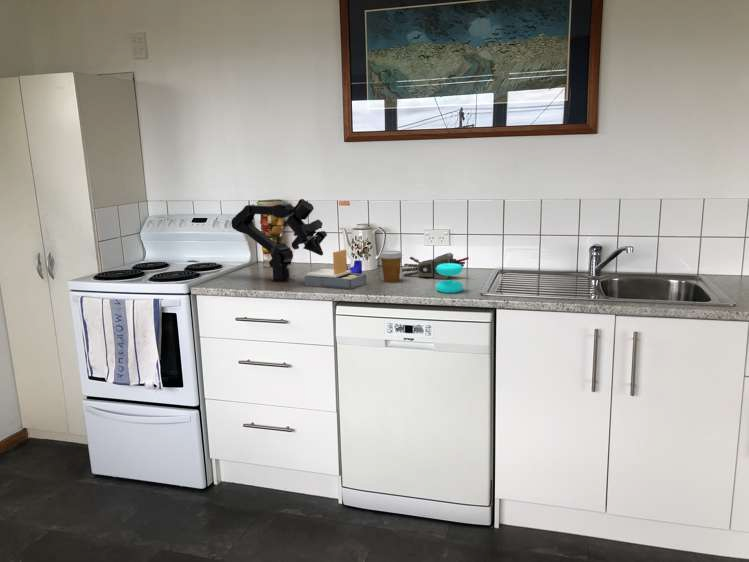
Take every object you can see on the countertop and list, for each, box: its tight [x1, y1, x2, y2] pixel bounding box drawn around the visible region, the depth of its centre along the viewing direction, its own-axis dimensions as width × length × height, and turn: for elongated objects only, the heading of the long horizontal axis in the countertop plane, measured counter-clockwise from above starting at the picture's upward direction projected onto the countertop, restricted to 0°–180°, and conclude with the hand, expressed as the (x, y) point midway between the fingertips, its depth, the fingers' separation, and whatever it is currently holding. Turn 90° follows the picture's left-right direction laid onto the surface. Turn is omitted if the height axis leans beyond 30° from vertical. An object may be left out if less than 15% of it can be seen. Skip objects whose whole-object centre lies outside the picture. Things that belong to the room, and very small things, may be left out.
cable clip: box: [347, 259, 363, 274], centre depth 262 cm, size 12×4×6 cm, turn 145°
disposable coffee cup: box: [379, 250, 403, 283], centre depth 246 cm, size 10×10×12 cm
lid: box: [306, 249, 351, 278], centre depth 242 cm, size 14×12×10 cm
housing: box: [304, 273, 367, 291], centre depth 242 cm, size 22×12×4 cm, turn 61°
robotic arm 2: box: [400, 252, 470, 280], centre depth 251 cm, size 10×8×30 cm
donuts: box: [435, 263, 464, 294], centre depth 224 cm, size 10×10×10 cm
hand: (322, 254), depth 243 cm, fingers closed
